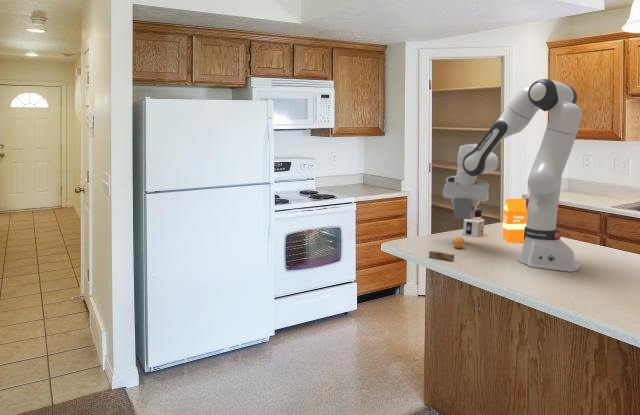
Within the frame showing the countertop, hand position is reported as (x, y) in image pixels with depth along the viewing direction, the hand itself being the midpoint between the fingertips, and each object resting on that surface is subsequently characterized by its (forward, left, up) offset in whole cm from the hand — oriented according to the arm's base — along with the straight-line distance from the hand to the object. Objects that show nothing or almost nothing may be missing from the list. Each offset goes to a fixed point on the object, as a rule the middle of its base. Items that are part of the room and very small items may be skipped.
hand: (464, 209), depth 241 cm
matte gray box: (0, 0, -4) cm, 4 cm away
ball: (-2, +10, -13) cm, 17 cm away
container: (+2, -21, -16) cm, 27 cm away
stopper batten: (-3, +32, -16) cm, 36 cm away
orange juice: (-18, -21, -16) cm, 32 cm away
